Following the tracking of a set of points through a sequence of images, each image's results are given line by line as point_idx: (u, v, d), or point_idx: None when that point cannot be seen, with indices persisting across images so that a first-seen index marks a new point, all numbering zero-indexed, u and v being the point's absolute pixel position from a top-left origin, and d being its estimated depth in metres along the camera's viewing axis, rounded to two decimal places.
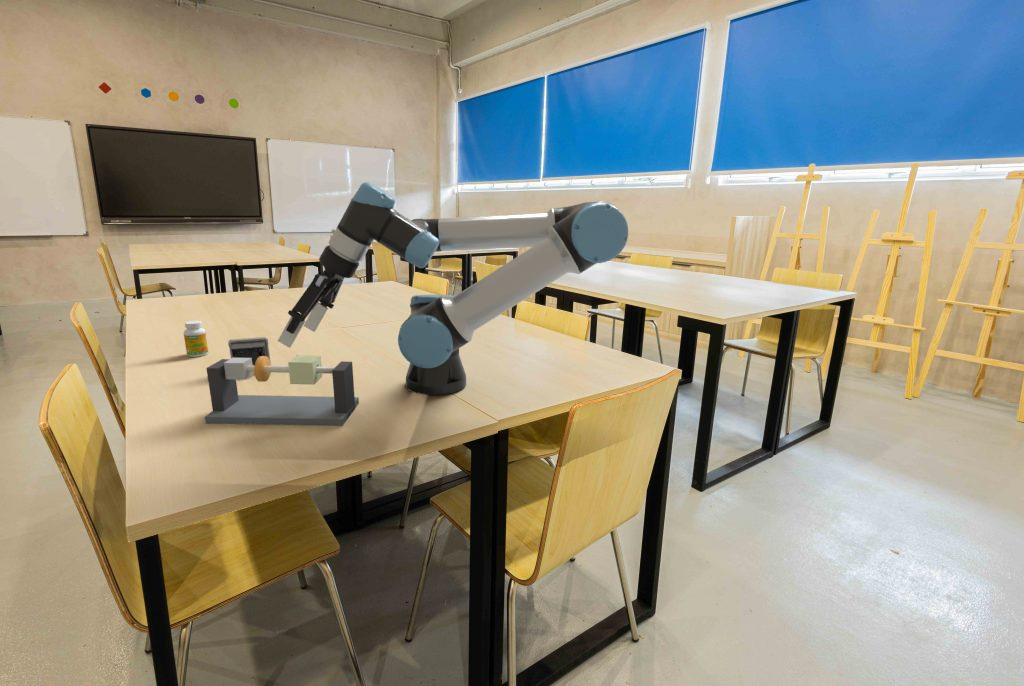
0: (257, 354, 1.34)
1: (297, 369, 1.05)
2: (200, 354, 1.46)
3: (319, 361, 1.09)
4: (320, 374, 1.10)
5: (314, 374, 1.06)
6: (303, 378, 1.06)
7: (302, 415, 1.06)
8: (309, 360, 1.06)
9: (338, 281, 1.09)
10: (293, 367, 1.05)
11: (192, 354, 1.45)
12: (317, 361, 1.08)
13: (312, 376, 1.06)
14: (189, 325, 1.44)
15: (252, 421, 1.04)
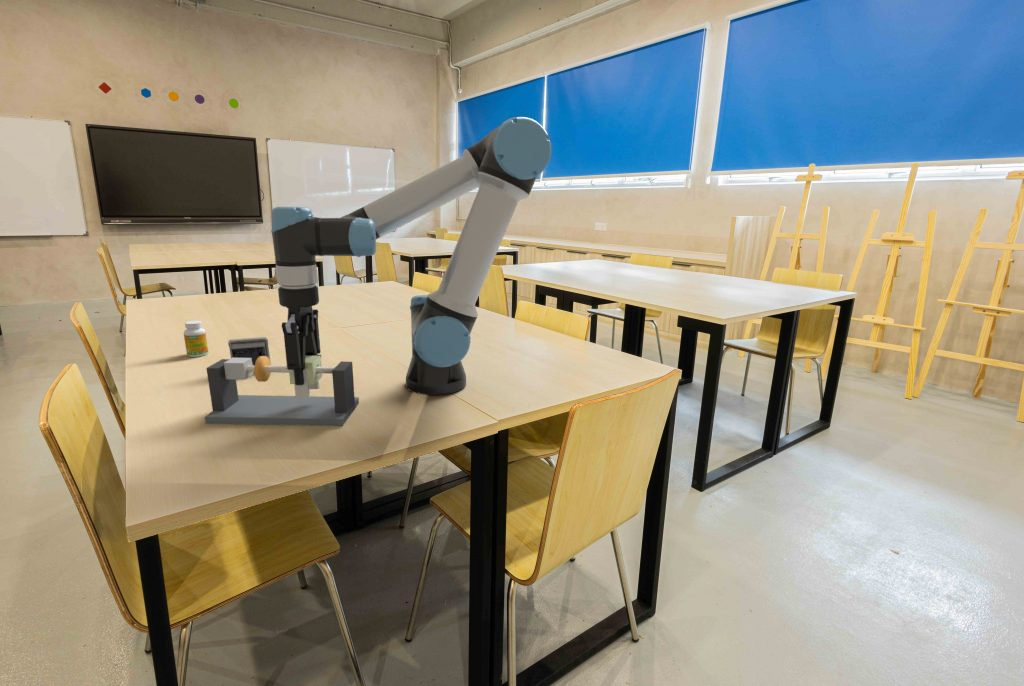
0: (257, 354, 1.34)
1: None
2: (200, 354, 1.46)
3: (319, 361, 1.09)
4: (320, 374, 1.10)
5: (314, 374, 1.06)
6: None
7: (302, 415, 1.06)
8: (309, 360, 1.06)
9: (310, 314, 1.05)
10: None
11: (192, 354, 1.45)
12: (317, 361, 1.08)
13: (312, 376, 1.06)
14: (189, 325, 1.44)
15: (252, 421, 1.04)
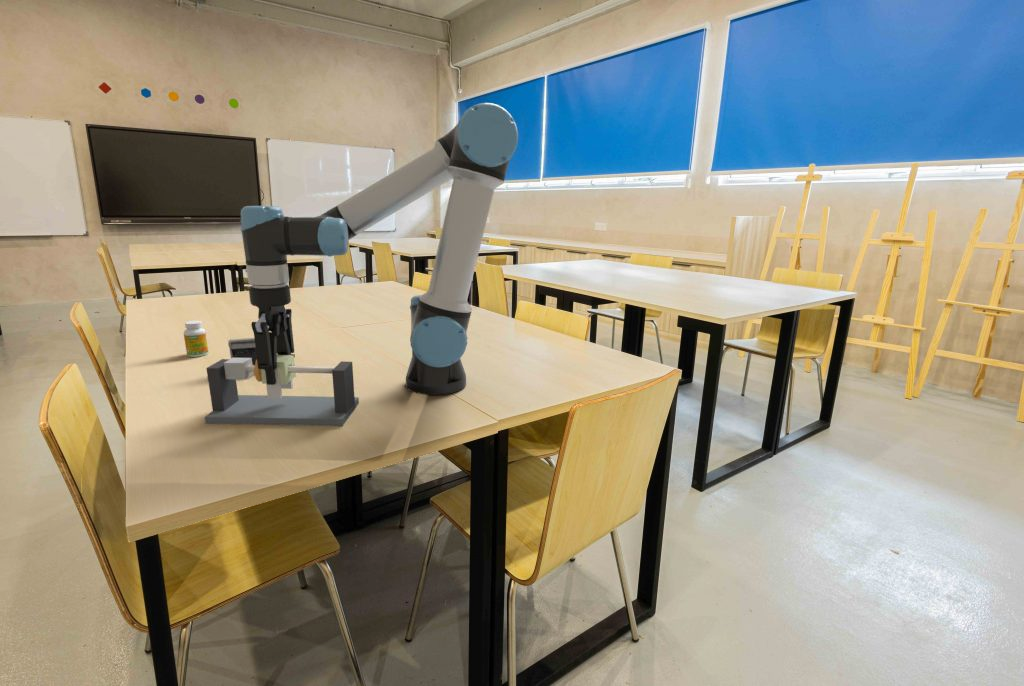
0: None
1: None
2: (200, 354, 1.46)
3: (292, 360, 1.09)
4: (293, 373, 1.09)
5: (286, 373, 1.06)
6: None
7: (302, 415, 1.06)
8: (281, 359, 1.06)
9: (282, 313, 1.05)
10: None
11: (192, 354, 1.45)
12: (290, 360, 1.08)
13: (284, 375, 1.06)
14: (189, 325, 1.44)
15: (252, 421, 1.04)
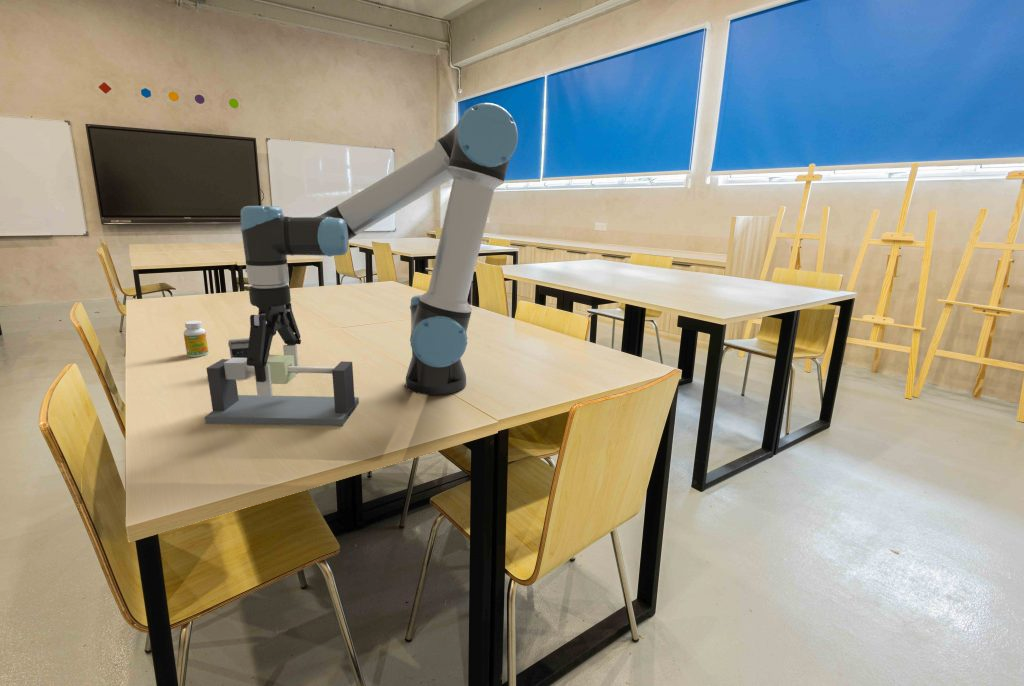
0: None
1: None
2: (200, 354, 1.46)
3: (292, 360, 1.09)
4: (293, 373, 1.09)
5: (286, 373, 1.06)
6: (275, 377, 1.06)
7: (302, 415, 1.06)
8: (281, 359, 1.06)
9: (282, 313, 1.05)
10: None
11: (192, 354, 1.45)
12: (289, 360, 1.08)
13: (284, 375, 1.06)
14: (189, 325, 1.44)
15: (252, 421, 1.04)
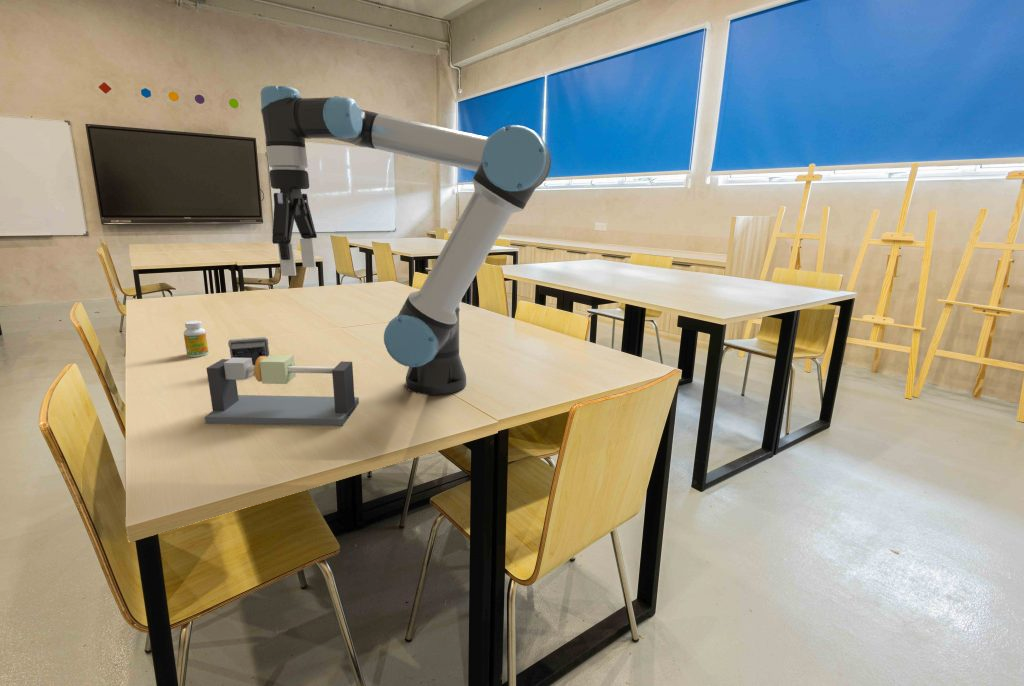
0: (257, 354, 1.34)
1: (269, 368, 1.05)
2: (200, 354, 1.46)
3: (292, 360, 1.09)
4: (293, 373, 1.09)
5: (286, 373, 1.06)
6: (275, 377, 1.06)
7: (302, 415, 1.06)
8: (281, 359, 1.06)
9: (301, 199, 1.09)
10: (265, 366, 1.05)
11: (192, 354, 1.45)
12: (289, 360, 1.08)
13: (284, 375, 1.06)
14: (189, 325, 1.44)
15: (252, 421, 1.04)
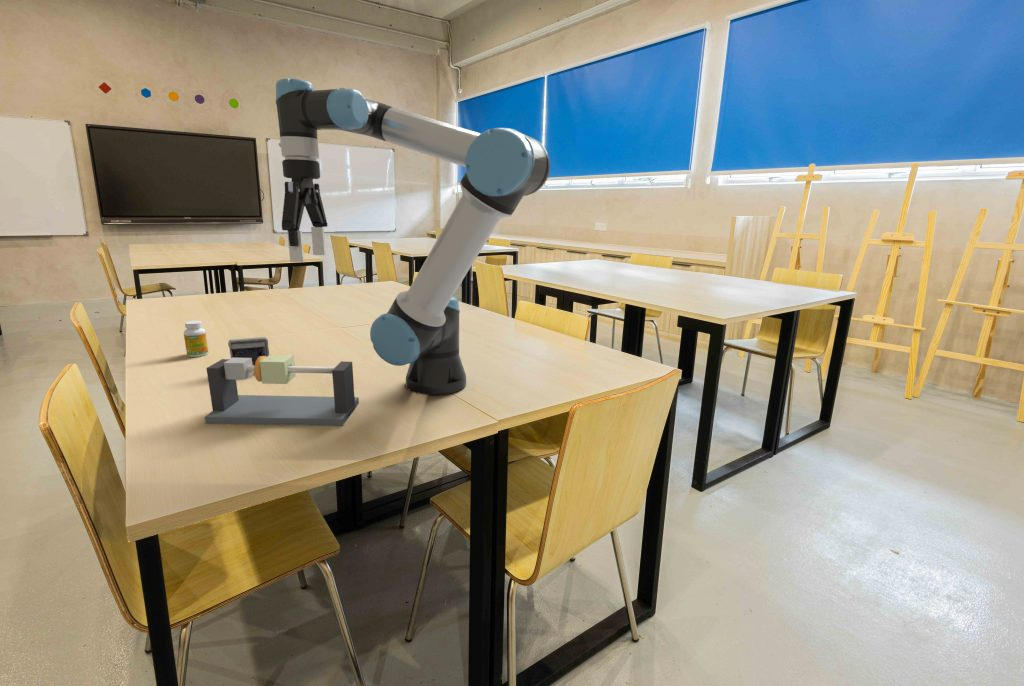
0: (257, 354, 1.34)
1: (269, 368, 1.05)
2: (200, 354, 1.46)
3: (292, 360, 1.09)
4: (293, 373, 1.09)
5: (286, 373, 1.06)
6: (275, 377, 1.06)
7: (302, 415, 1.06)
8: (281, 359, 1.06)
9: (312, 188, 1.13)
10: (265, 366, 1.05)
11: (192, 354, 1.45)
12: (289, 360, 1.08)
13: (284, 375, 1.06)
14: (189, 325, 1.44)
15: (252, 421, 1.04)
